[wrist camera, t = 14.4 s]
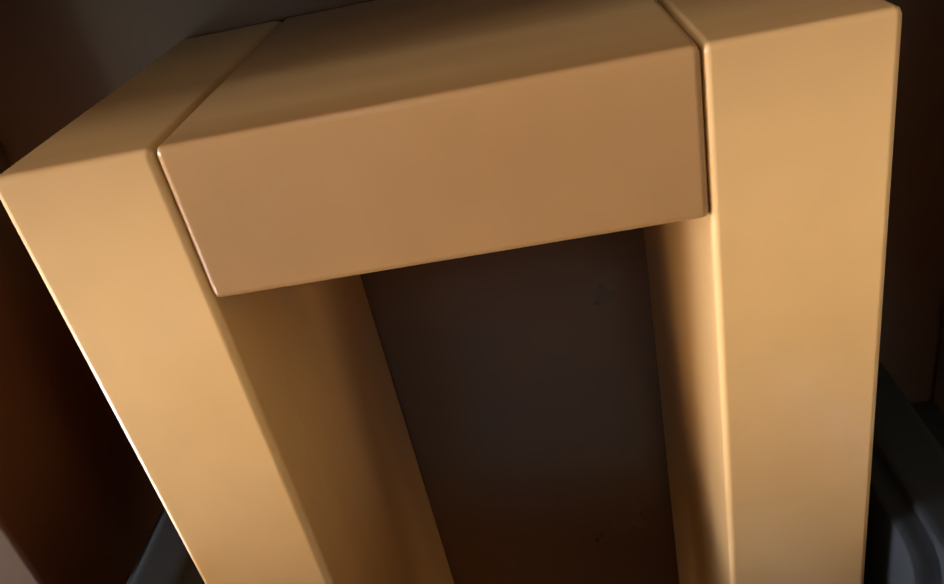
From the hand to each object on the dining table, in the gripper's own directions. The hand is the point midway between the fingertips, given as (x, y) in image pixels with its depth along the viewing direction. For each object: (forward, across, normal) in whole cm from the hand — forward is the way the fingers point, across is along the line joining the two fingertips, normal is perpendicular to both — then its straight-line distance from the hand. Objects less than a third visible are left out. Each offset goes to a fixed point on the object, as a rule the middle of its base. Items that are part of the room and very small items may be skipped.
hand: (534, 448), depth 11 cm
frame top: (+1, 0, 0) cm, 1 cm away
